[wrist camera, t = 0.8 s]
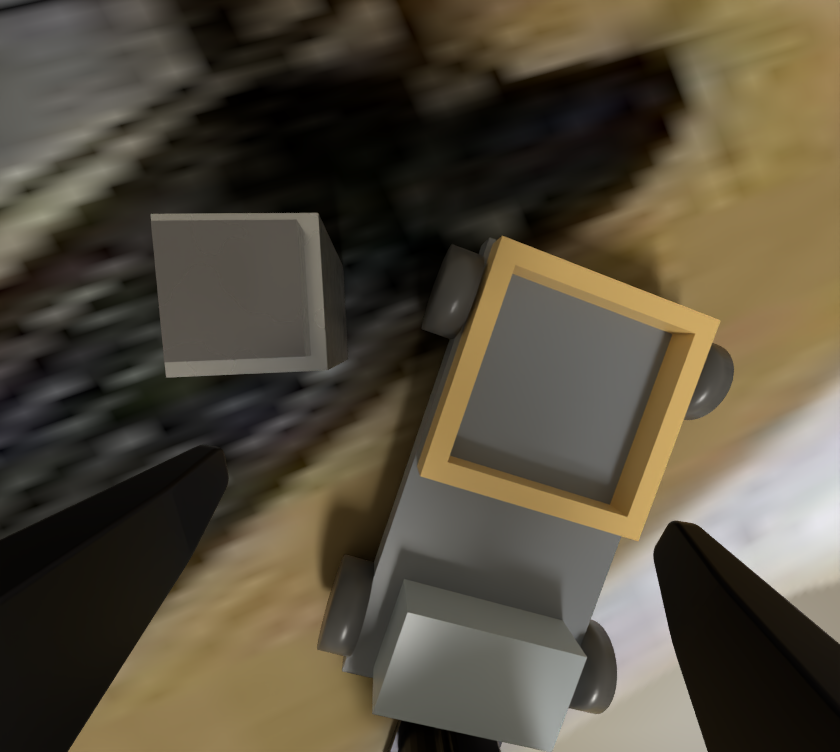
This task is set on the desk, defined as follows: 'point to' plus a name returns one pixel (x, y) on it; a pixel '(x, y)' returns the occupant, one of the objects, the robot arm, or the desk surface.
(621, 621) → the desk surface
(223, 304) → the grey block
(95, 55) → the desk surface
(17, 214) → the desk surface
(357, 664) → the truck
